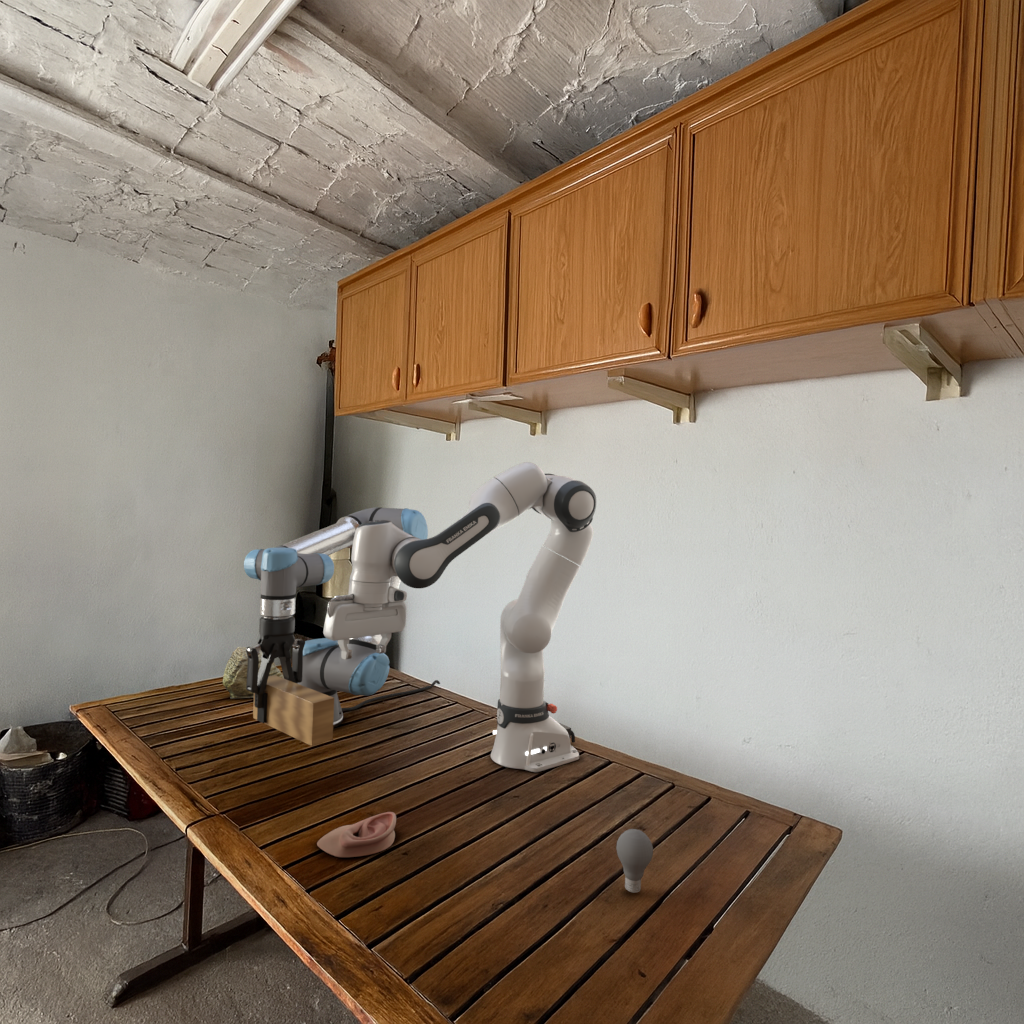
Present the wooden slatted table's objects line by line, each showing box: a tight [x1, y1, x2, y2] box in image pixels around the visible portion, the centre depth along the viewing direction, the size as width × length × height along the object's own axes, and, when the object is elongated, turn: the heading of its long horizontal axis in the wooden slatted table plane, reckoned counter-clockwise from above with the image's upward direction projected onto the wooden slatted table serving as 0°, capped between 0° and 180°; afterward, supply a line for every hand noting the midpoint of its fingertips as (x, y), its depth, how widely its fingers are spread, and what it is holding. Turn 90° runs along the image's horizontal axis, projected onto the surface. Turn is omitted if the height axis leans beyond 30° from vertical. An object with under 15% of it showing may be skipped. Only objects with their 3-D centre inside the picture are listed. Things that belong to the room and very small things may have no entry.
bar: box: [252, 675, 334, 747], centre depth 139 cm, size 23×5×9 cm, turn 51°
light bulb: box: [615, 828, 654, 894], centre depth 106 cm, size 6×6×10 cm
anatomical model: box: [316, 811, 397, 858], centre depth 117 cm, size 13×4×12 cm
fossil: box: [222, 646, 284, 699], centre depth 198 cm, size 9×18×15 cm, turn 132°
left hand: (273, 717), depth 144 cm, fingers closed on bar, 5 cm apart
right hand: (363, 655), depth 139 cm, fingers open, 8 cm apart
